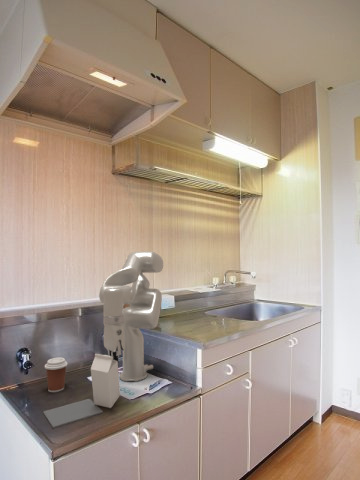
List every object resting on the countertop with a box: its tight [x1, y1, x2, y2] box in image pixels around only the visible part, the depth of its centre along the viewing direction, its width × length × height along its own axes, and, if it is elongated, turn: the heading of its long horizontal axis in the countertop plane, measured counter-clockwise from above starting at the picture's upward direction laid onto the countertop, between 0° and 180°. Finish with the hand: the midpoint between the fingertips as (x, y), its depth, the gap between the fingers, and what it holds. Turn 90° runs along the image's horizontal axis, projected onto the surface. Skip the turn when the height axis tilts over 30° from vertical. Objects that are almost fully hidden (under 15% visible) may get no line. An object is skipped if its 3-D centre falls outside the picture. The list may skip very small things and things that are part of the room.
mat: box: [42, 398, 104, 429], centre depth 116 cm, size 17×13×1 cm
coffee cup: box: [44, 357, 69, 393], centre depth 137 cm, size 9×9×12 cm
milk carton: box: [90, 353, 121, 409], centre depth 121 cm, size 7×7×19 cm
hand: (113, 368), depth 126 cm, fingers closed
